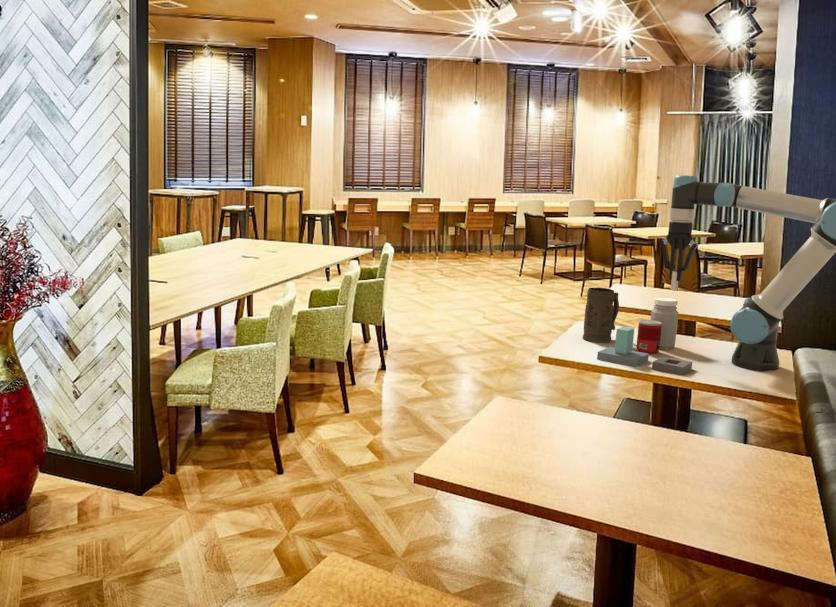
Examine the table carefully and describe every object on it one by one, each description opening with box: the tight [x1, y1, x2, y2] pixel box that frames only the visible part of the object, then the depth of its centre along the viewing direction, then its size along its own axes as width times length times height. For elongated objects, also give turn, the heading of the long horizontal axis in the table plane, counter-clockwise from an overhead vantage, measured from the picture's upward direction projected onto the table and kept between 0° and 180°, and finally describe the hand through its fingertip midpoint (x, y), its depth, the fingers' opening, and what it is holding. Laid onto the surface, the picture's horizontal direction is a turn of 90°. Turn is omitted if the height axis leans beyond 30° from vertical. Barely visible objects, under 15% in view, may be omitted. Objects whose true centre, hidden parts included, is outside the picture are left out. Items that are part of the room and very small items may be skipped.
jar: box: [650, 296, 679, 350], centre depth 291 cm, size 10×10×18 cm
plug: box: [614, 326, 635, 355], centre depth 268 cm, size 4×6×11 cm, turn 144°
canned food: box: [635, 319, 662, 355], centre depth 283 cm, size 8×8×11 cm
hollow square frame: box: [651, 356, 693, 375], centre depth 260 cm, size 10×10×2 cm
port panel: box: [596, 346, 650, 367], centre depth 269 cm, size 14×11×2 cm
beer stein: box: [582, 287, 620, 344], centre depth 299 cm, size 15×11×20 cm
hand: (673, 290), depth 269 cm, fingers closed
